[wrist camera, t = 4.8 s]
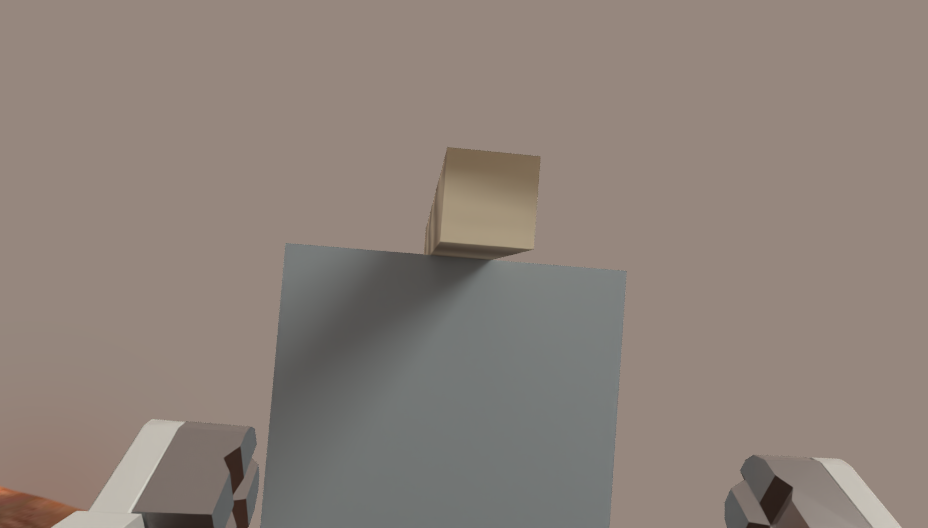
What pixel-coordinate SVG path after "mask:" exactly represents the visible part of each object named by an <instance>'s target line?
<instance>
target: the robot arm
mask: <svg viewBox="0 0 928 528" xmlns="http://www.w3.org/2000/svg"><path fill="white" fill-rule="evenodd" d="M255 447H256V435H255V429H254V428H253V427H249V426H237V425H224V424H212V423H199V422H188V421H186V422H181V421H168V420H156V419H152V420H150V421H149V422H148V423H146V424H145V425H144V426H143V427H142V428H141V430H140V431H139V433H138V434H137V436H136V437H135V439H134V440H133V442H132V443H131V445H130V447H129V448H128V450H127V451H126V453H125V454H124V456H123V457H122V459H121V460H120V462H119V464H118V465H117V467H116V468H115V470H114V471H113V473H112V475H111V476H110V478H109V479H108V481H107V482H106V484H105V485H104V487H103V489H102V490H101V491H100V493H99V495H98V496H97V498H96V499H95V501H94V502H93V504H92V506H91V507H90V509H89V510H88V511H76V512H74V513H73V514H71V515H70V516H68V517H66V518H65V519H63V520H62V521H60V522H59V523H57V524H56V525H54V526H53V527H51V528H248V527H249V524H250V521H251V518H252V515H253V512H254V508H255V503H256V498H257V493H258V485H259V467H258V464H257V463H256V462H255V461H254V460H253V459H252V455H253V453H254V450H255ZM740 471H741V474H742V476H743V478H744V480H743V481H742V482H740V483H739V484H737V485H736V486H734V487H733V488H731V490H730V492H729V495H728V496H727V499H726V501H725V521H726V525H727V528H901V526H900V525H899V524H898V523H897V522H896V520H895V519H894V518H893V517H892V515H891V514H890V513H889V512H888V511H887V509H886V508H885V507H884V506H883V505H882V503H881V502H880V501H879V500H878V498H877V497H876V496H875V495H874V494H873V492H872V491H871V490H870V489H869V488H868V486H867V485H866V484H865V483H864V481H863V480H862V479H861V478H860V477H859V475H858V474H857V473H856V472H855V471H854V469H853V468H852V467H851V466H850V465H848V464H847V463H846V462H844V461H843V460H841V459H830V458H806V457H790V456H769V455H752V456H751V457H749V458H748V459H746V460H745V462H744V464H743V466H742V468H741V470H740Z"/></svg>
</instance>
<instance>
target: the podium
mask: <svg viewBox="0 0 928 528" xmlns="http://www.w3.org/2000/svg"><path fill="white" fill-rule="evenodd" d="M625 287H626V271H619V270H607V269H595V268H583V267H571V266H558V265H546V264H534V263H521V262H508V261H497V260H485V259H473V258H461V257H448V256H436V255H424V254H412V253H400V252H386V251H375V250H363V249H350V248H339V247H326V246H313V245H302V244H289V243H286V245H285V256H284V268H283V279H282V290H281V302H280V312H279V323H278V335H277V346H276V357H275V368H274V369H275V370H274V379H273V380H274V381H273V391H272V402H271V413H270V424H269V436H268V448H267V459H266V469H265V481H264V492H263V503H262V515H261V526H260V528H609V525H610V509H611V494H612V481H613V479H612V478H613V466H614V451H615V436H616V421H617V406H618V391H619V376H620V375H619V374H620V362H621V345H622V332H623V317H624V302H625Z"/></svg>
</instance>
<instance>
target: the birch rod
mask: <svg viewBox="0 0 928 528" xmlns="http://www.w3.org/2000/svg"><path fill="white" fill-rule="evenodd" d="M539 170H540V156H531V155H521V154H511V153H500V152H491V151H481V150H471V149H461V148H450V147H448V148H447V152H446V155H445V159H444V163H443V166H442V170H441V174H440V178H439V181H438V185H437V189H436V193H435V197H434V200H433V205H432V208H431V212H430V215H429V219H428V223H427V227H426V233H425V234H426V235H425V247H424V255H436V256H448V257H461V258H473V259H485V260H493V259H497V258H501V257H505V256H509V255H513V254H517V253H521V252H525V251H529V250H533V249H534V237H535V225H536V210H537V197H538V184H539Z"/></svg>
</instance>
